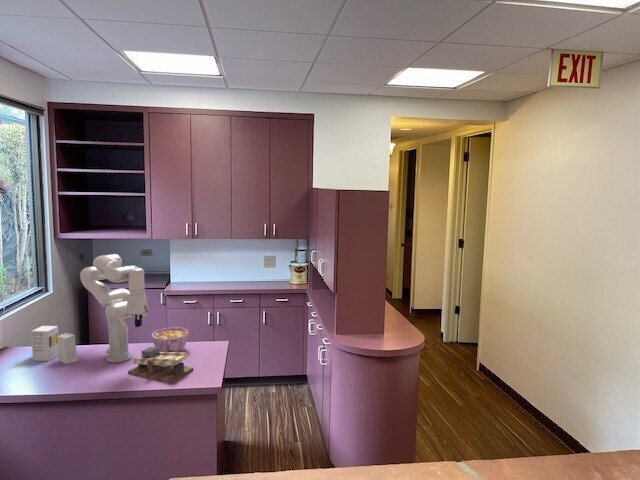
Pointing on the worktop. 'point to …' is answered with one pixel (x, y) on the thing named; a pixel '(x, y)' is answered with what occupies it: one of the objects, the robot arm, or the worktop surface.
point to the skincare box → (67, 348)
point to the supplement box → (44, 343)
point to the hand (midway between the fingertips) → (138, 326)
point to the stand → (161, 371)
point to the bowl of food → (170, 339)
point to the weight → (150, 352)
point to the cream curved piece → (163, 359)
